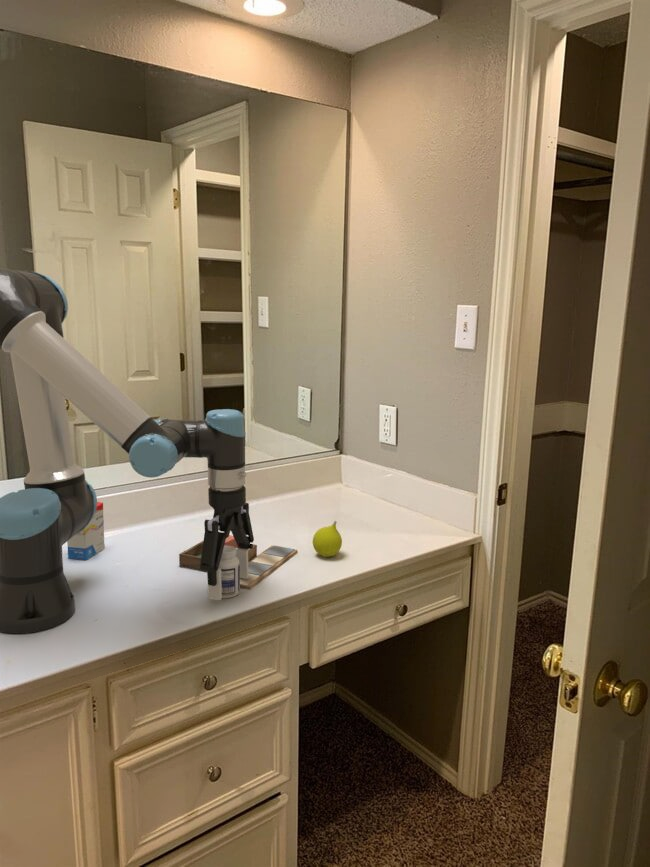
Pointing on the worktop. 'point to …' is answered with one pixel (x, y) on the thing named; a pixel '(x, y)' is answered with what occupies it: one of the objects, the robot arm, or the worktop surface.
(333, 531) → the green gourd
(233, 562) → the pill bottle
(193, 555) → the dice tray
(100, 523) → the ink box
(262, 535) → the worktop surface
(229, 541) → the salmon red cube
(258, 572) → the board
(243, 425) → the robot arm
